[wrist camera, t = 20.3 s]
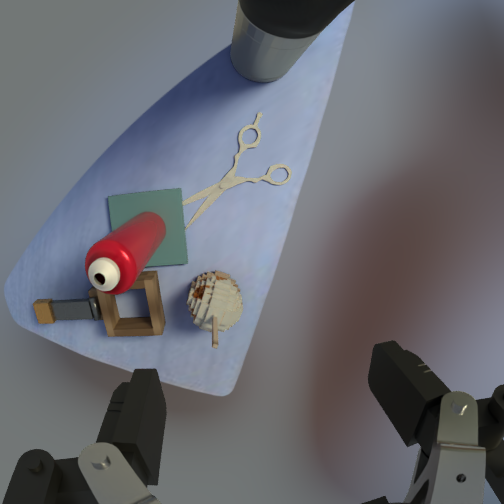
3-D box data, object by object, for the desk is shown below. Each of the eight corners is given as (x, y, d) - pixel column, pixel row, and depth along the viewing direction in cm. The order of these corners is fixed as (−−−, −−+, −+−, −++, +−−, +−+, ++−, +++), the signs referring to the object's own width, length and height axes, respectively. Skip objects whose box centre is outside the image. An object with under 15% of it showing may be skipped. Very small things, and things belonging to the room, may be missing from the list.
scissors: (303, 170, 44) (194, 252, 45) (301, 170, 45) (194, 251, 46) (260, 111, 41) (148, 196, 42) (259, 112, 42) (149, 195, 43)
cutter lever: (96, 296, 44) (93, 300, 42) (102, 316, 45) (98, 322, 43) (37, 299, 42) (32, 303, 40) (43, 318, 43) (38, 323, 41)
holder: (89, 275, 45) (80, 284, 41) (156, 270, 46) (151, 279, 42) (101, 324, 47) (94, 336, 44) (165, 322, 48) (162, 335, 45)
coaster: (109, 196, 42) (107, 196, 41) (181, 188, 43) (180, 188, 42) (119, 266, 45) (118, 268, 44) (188, 261, 46) (187, 263, 45)
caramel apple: (198, 263, 46) (191, 306, 32) (246, 279, 48) (259, 326, 34) (183, 307, 48) (173, 362, 34) (229, 321, 50) (236, 379, 35)
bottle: (151, 203, 42) (102, 235, 23) (173, 234, 44) (141, 287, 25) (123, 225, 43) (61, 271, 24) (144, 255, 44) (99, 318, 25)
